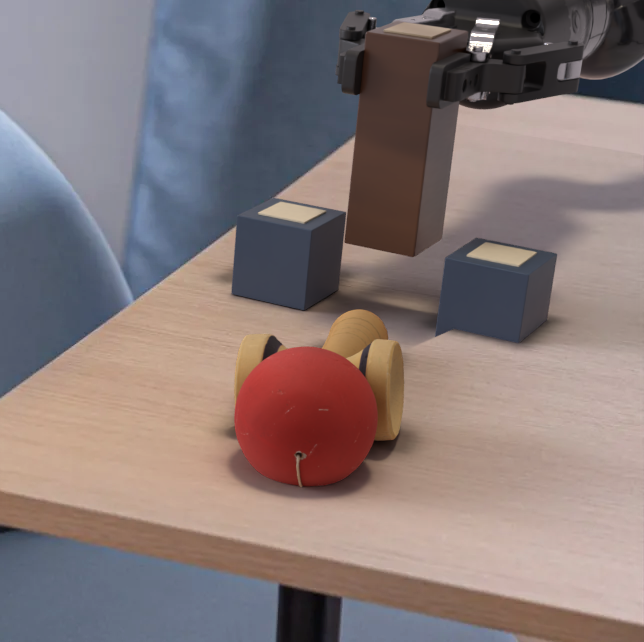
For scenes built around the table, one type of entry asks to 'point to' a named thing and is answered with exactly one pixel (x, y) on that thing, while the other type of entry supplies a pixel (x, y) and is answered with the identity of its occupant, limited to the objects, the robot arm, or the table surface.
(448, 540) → the table surface
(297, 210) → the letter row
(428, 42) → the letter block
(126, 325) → the table surface
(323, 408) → the kendama
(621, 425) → the table surface
